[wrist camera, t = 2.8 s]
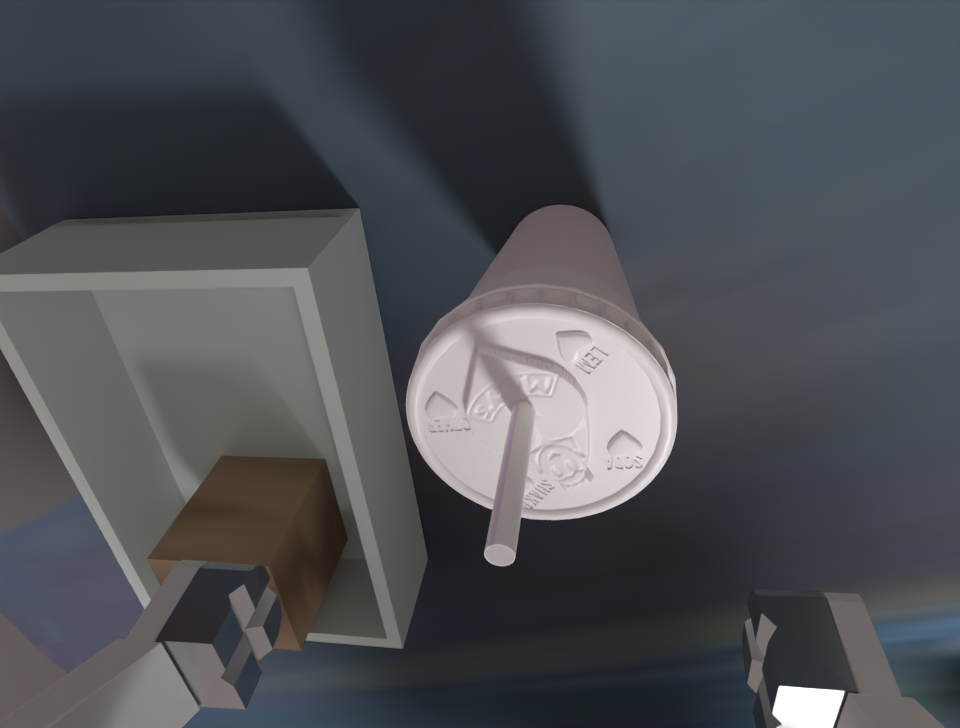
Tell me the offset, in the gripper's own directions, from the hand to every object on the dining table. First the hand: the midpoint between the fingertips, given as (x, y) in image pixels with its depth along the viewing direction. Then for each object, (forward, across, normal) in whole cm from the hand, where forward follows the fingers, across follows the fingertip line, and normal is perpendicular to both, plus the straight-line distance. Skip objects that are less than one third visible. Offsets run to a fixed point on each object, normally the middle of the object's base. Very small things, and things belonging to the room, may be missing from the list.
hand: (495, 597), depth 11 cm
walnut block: (+14, +13, +12) cm, 22 cm away
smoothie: (+15, 0, 0) cm, 15 cm away
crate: (+15, +13, +7) cm, 21 cm away
